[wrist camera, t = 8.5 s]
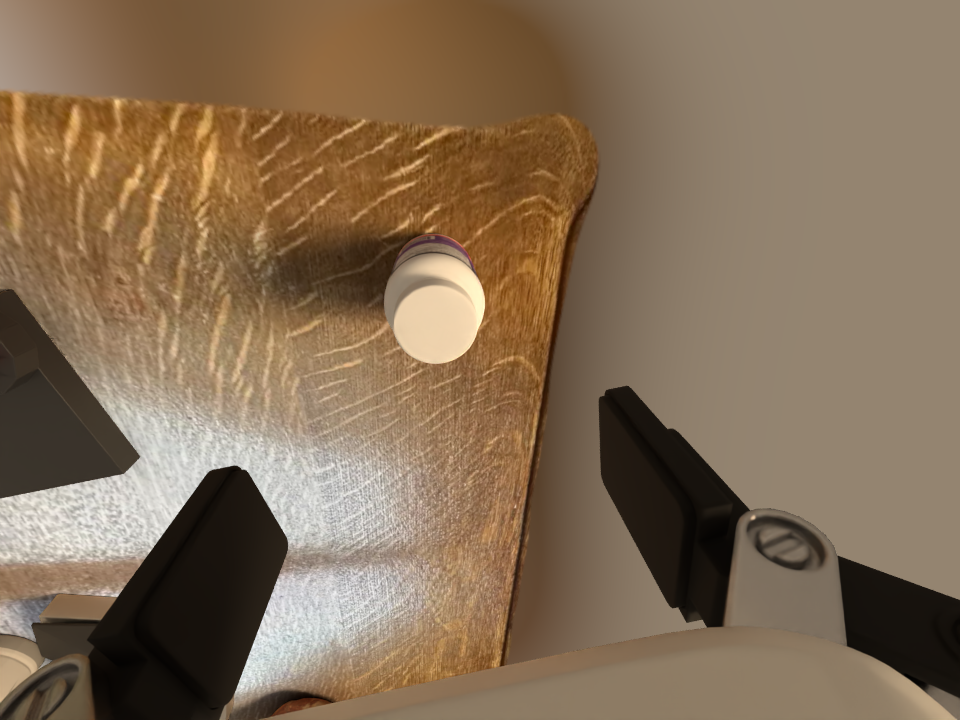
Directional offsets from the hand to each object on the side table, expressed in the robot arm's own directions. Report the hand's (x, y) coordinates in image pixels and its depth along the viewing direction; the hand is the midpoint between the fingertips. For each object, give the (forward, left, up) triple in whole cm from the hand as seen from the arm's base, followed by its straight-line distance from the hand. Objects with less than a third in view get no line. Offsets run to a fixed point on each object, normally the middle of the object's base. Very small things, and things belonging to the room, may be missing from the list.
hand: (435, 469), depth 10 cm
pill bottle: (0, 0, -19) cm, 19 cm away
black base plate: (+3, -32, -19) cm, 37 cm away
